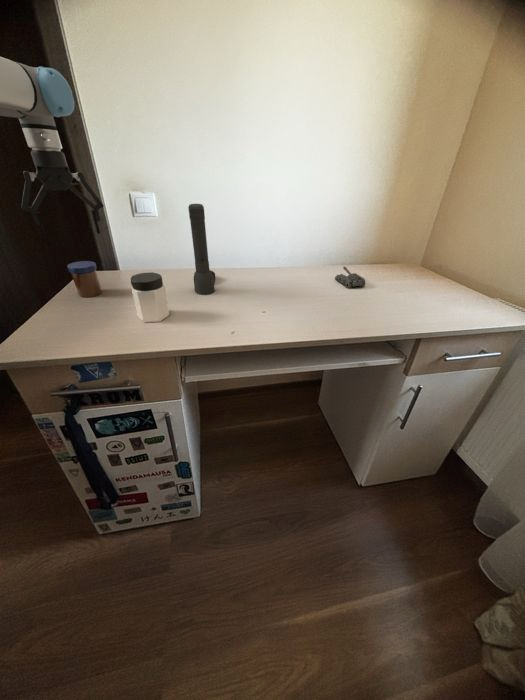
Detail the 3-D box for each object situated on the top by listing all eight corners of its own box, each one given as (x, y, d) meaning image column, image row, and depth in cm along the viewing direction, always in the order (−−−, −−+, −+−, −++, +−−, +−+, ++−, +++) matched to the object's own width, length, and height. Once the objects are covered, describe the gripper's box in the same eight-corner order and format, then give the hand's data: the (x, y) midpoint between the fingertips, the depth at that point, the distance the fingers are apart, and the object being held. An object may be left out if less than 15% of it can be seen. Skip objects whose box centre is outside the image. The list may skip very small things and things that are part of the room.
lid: (70, 275, 87) (68, 269, 87) (67, 268, 93) (65, 263, 92) (99, 271, 92) (97, 265, 91) (94, 264, 97) (92, 259, 96)
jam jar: (80, 299, 92) (70, 270, 87) (77, 292, 97) (67, 264, 92) (104, 294, 96) (96, 267, 91) (99, 288, 101) (92, 261, 96)
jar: (152, 307, 89) (144, 270, 82) (174, 312, 87) (168, 274, 80) (132, 319, 82) (122, 279, 75) (155, 325, 79) (147, 284, 73)
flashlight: (191, 293, 100) (210, 295, 99) (180, 206, 82) (202, 208, 82) (199, 285, 105) (217, 287, 104) (189, 201, 88) (210, 203, 87)
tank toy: (331, 279, 118) (333, 266, 115) (351, 277, 120) (354, 265, 117) (346, 289, 108) (349, 276, 105) (367, 288, 110) (371, 275, 108)
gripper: (-16, 146, 66) (23, 241, 77) (101, 152, 78) (120, 233, 90) (-14, 147, 71) (22, 236, 82) (95, 152, 83) (114, 229, 95)
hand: (73, 235), depth 86 cm, fingers open, 13 cm apart
